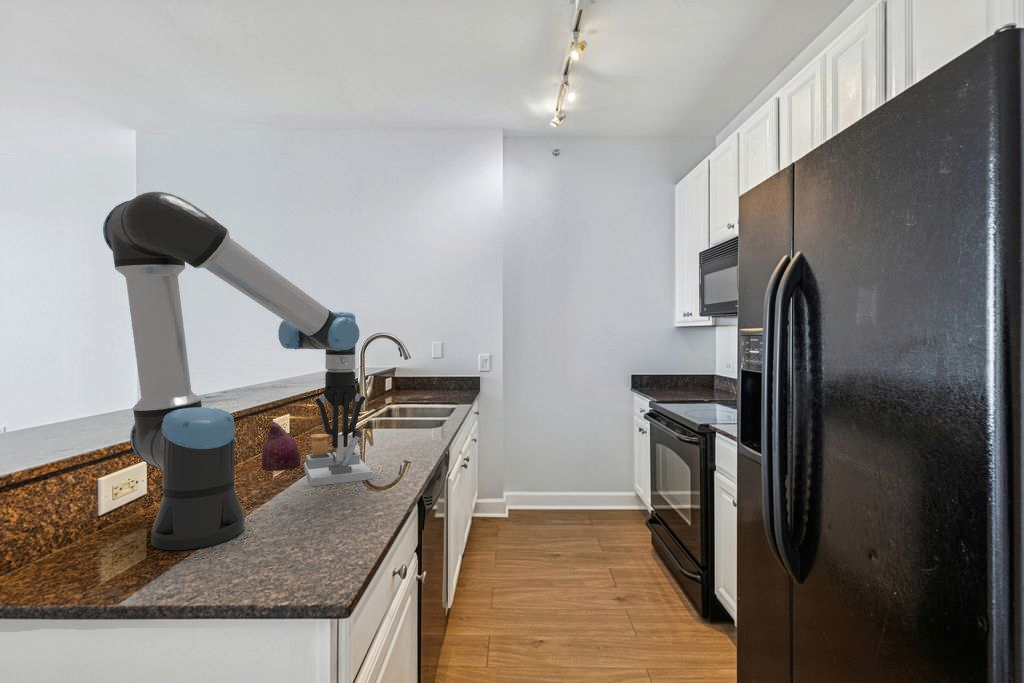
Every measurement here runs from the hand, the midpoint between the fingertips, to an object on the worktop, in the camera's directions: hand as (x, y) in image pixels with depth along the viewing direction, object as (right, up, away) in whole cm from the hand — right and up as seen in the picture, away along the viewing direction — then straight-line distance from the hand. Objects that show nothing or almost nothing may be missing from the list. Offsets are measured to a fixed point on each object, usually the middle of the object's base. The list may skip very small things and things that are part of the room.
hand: (339, 459), depth 137 cm
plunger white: (-1, 0, +9) cm, 9 cm away
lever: (0, -3, 0) cm, 3 cm away
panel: (-2, -5, +4) cm, 7 cm away
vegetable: (-21, -5, +12) cm, 25 cm away
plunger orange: (-8, 0, +6) cm, 10 cm away
